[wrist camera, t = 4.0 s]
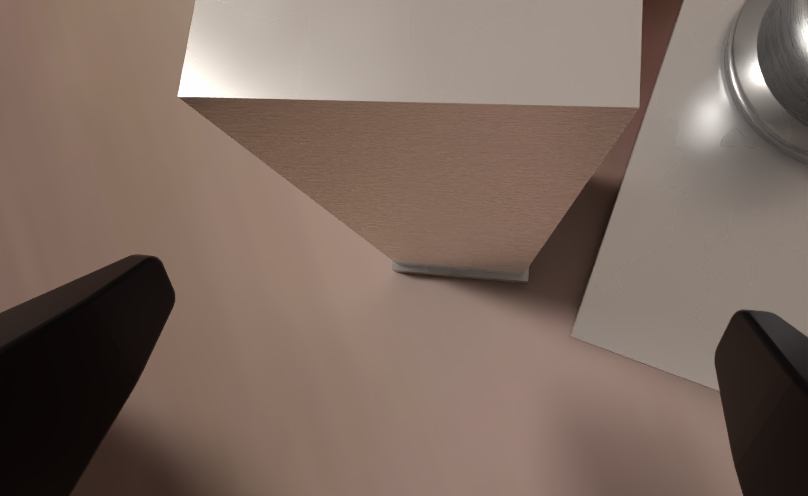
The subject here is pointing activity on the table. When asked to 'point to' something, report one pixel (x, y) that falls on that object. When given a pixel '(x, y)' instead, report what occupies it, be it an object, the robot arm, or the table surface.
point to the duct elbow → (425, 113)
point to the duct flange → (710, 192)
